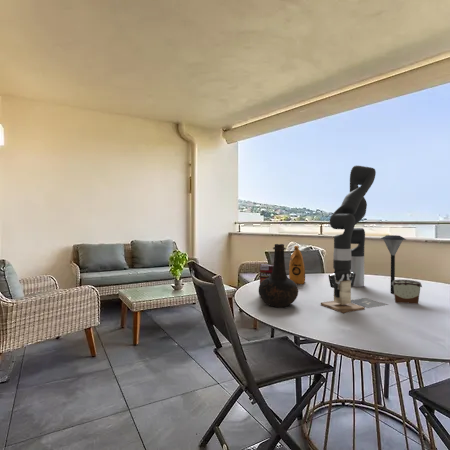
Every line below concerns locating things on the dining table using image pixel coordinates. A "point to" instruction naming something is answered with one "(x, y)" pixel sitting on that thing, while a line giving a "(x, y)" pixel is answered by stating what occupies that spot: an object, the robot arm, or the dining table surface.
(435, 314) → the dining table surface
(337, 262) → the robot arm
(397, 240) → the solar garden light
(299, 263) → the coffee package
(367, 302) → the tile
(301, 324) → the dining table surface
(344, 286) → the birch block
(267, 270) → the supplement box
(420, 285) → the food container
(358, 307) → the walnut board
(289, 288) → the glass bottle
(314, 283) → the dining table surface
